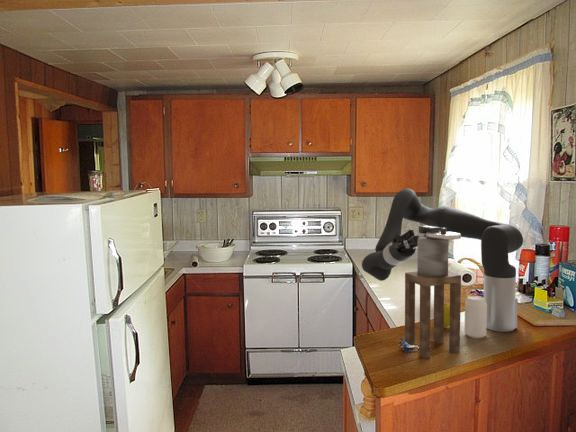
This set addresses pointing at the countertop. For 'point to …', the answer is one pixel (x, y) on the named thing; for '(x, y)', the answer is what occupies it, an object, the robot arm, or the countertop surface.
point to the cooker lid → (438, 233)
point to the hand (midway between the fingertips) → (425, 231)
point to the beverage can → (475, 316)
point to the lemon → (446, 315)
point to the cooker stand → (434, 274)
